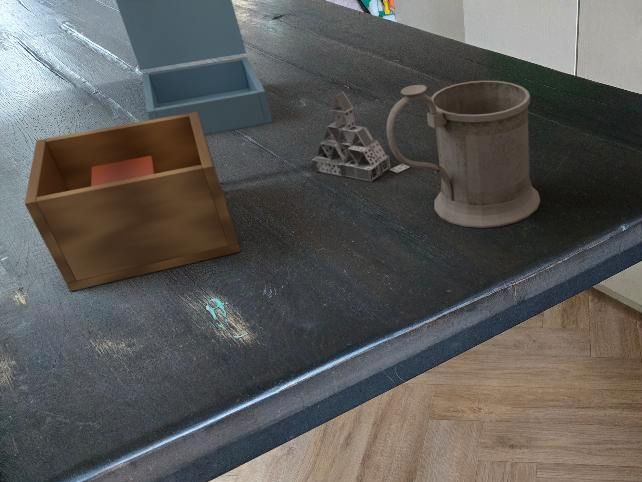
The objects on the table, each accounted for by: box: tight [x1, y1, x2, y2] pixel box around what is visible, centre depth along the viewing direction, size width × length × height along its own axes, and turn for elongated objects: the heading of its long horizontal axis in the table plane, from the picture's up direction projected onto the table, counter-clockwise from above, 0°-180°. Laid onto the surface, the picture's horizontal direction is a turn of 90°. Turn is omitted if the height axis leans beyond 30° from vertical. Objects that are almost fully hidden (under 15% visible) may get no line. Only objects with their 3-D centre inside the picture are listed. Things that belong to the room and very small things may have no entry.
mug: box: [386, 80, 541, 229], centre depth 63 cm, size 14×10×12 cm
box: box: [141, 56, 274, 136], centre depth 86 cm, size 15×13×4 cm
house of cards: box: [311, 90, 410, 183], centre depth 73 cm, size 9×9×8 cm
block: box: [91, 156, 158, 186], centre depth 64 cm, size 5×5×5 cm
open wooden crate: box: [24, 112, 241, 292], centre depth 63 cm, size 14×14×8 cm
